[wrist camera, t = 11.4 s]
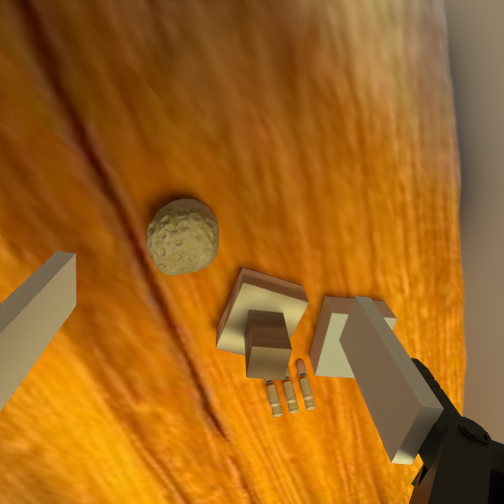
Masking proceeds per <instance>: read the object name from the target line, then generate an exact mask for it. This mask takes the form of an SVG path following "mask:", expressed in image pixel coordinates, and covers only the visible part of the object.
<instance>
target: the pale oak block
mask: <svg viewBox="0 0 504 504" xmlns="http://www.w3.org/2000/svg"><path fill="white" fill-rule="evenodd" d="M308 303H309V302H308V299H307V296H306V294H305V291H304V288H303V286H300V285H297V284H294V283H291V282H288V281H285V280H281V279H278V278H275V277H272V276H269V275H266V274H262V273H259V272H256V271H253V270H250V269H247V268H243V267H242V269H241V272H240V274H239V277H238V279H237V282H236V284H235V286H234V289H233V291H232V294H231V296H230V298H229V301H228V303H227V306H226V308H225V311H224V313H223V315H222V318H221V320H220V323H219V325H218V327H217V334H216V348H217V349H221V350H224V351H228V352H232V353H236V354H240V355H243V356H245V343H244V336H245V330H246V324H247V318H248V313H249V310H259V311H270V312H280V313H283V314H284V318H285V323H286V327H287V331H288V335H289V340H290V338H291V336H292V334H293V332H294V330H295V328H296V326H297V324H298V322H299V320H300V319H301V317H302V315H303V313H304V311H305V309H306V307H307V305H308Z"/></svg>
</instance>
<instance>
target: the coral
mask: <svg viewBox="0 0 504 504" xmlns="http://www.w3.org/2000/svg"><path fill="white" fill-rule="evenodd" d="M146 244H147V250H148V252H149V254H150V255H151V259H152V260H153V261H154V264H155V265H156V267H157V268H158V269H159V270H160V271H162V272H163V273H164V274H166V275H173V276H174V275H178V274H186V273H191V272H194V271H198V270H201V269H203V268H205V267H207V266H209V264H210V263H211V261H212V260H213V259H214V258H215V257H216V255H217V250H218V246H219V227H218V223H217V221H216V219H215V217H214V215H213V213H212V211H211V210H210V209H209V208H208V207H207V206H206V205H204V204H202V203H201V202H199V201H197V200H195V199H188V198H187V199H184V198H183V199H179V200H176V201H172V202H170V203H169V204H167V205H166V206H164V207H163V208H162V209H161V210H160V211H159V212H157V213H156V215H155V217H154V218H153V220H152V221H151V222H150V224H149V225H148V228H147V243H146Z"/></svg>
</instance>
